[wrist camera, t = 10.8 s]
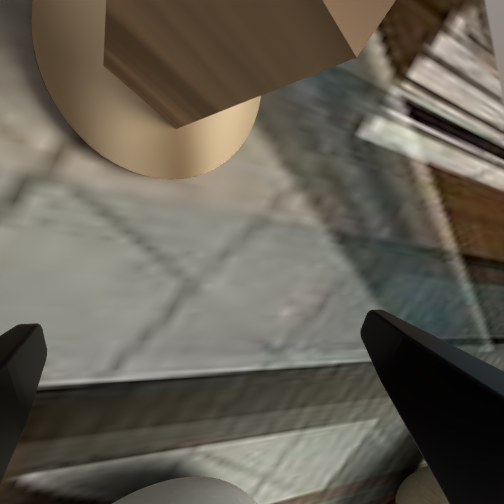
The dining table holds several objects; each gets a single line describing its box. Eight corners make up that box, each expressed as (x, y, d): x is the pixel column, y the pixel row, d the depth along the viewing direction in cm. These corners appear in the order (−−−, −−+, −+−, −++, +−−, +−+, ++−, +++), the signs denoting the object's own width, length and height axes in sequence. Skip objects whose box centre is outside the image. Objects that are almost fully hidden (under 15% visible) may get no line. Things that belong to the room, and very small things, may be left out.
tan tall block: (176, 128, 17) (356, 56, 5) (103, 65, 15) (120, -339, 3) (220, 67, 17) (492, -140, 5) (154, -5, 15) (376, -670, 3)
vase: (606, 382, 32) (554, 736, 24) (656, 442, 40) (630, 715, 32) (407, 334, 52) (344, 514, 44) (468, 380, 61) (425, 538, 53)
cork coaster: (94, 200, 17) (94, 203, 16) (-19, -72, 12) (-28, -89, 12) (268, 155, 21) (275, 155, 20) (232, -61, 17) (239, -73, 16)
